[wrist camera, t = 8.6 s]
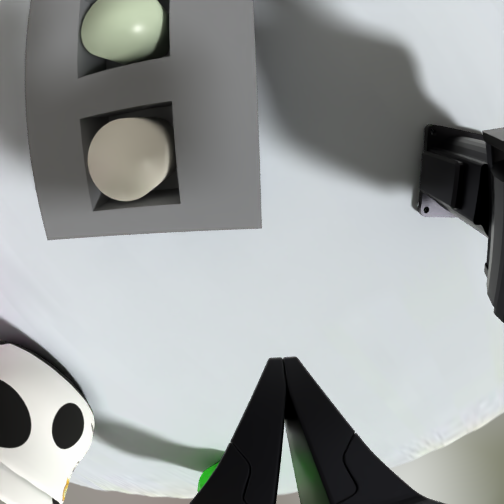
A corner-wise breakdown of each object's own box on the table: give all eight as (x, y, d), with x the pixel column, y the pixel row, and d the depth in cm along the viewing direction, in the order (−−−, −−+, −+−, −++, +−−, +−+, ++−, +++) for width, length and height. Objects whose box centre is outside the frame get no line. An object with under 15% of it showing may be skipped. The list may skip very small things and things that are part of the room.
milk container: (93, 435, 33) (63, 534, 17) (-1, 378, 29) (-49, 463, 13) (113, 383, 27) (63, 532, 11) (-12, 303, 23) (-96, 412, 7)
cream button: (179, 112, 16) (159, 112, 12) (184, 180, 18) (167, 197, 14) (115, 122, 16) (83, 126, 12) (122, 186, 18) (94, 204, 14)
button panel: (246, -95, 9) (245, -125, 5) (259, 205, 19) (261, 228, 15) (73, -55, 9) (49, -72, 6) (77, 218, 19) (47, 240, 16)
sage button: (176, 2, 13) (157, -23, 9) (176, 60, 14) (156, 47, 11) (113, 16, 13) (83, 0, 9) (112, 73, 15) (80, 66, 11)
